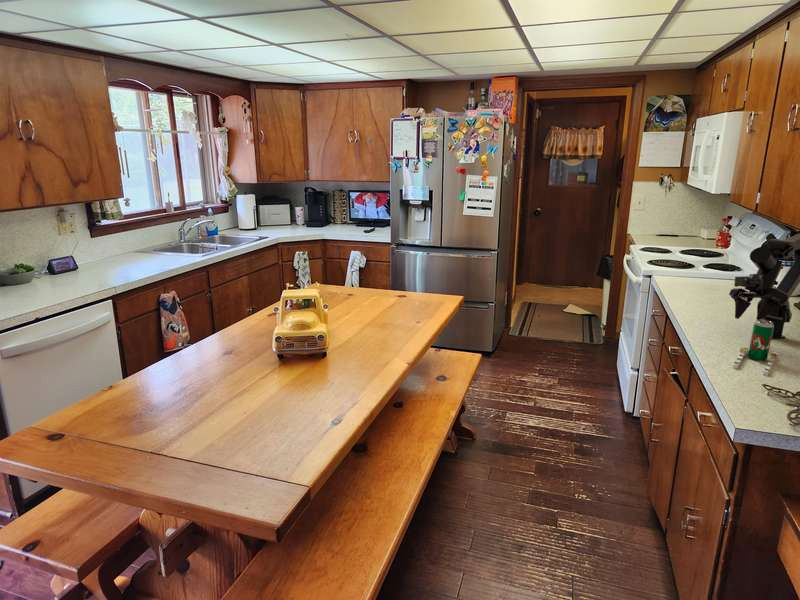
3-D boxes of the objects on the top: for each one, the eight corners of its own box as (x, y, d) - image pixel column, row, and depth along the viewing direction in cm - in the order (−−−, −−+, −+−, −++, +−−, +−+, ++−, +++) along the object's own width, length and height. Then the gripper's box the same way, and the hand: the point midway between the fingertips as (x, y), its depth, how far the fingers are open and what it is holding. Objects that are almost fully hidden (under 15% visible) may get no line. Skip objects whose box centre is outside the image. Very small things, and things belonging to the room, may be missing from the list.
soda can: (761, 355, 166) (768, 319, 162) (770, 362, 161) (778, 324, 157) (744, 355, 166) (751, 318, 163) (752, 361, 161) (760, 324, 158)
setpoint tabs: (740, 350, 167) (741, 347, 166) (776, 358, 161) (777, 355, 160) (739, 352, 165) (739, 349, 165) (775, 359, 159) (776, 356, 159)
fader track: (744, 349, 171) (745, 345, 170) (776, 356, 165) (777, 351, 165) (732, 368, 156) (733, 363, 156) (767, 375, 151) (768, 371, 150)
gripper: (725, 266, 180) (706, 307, 180) (768, 263, 162) (747, 309, 161) (752, 280, 181) (733, 321, 181) (798, 279, 163) (778, 324, 162)
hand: (746, 319), depth 171 cm, fingers open, 9 cm apart
